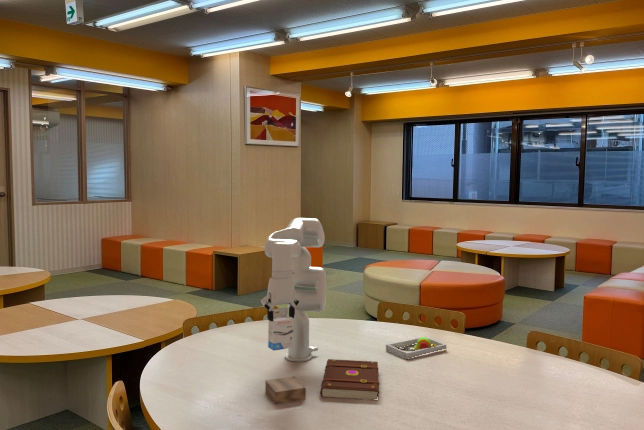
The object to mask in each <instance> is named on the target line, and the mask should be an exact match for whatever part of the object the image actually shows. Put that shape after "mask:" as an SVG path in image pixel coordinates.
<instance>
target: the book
mask: <svg viewBox="0 0 644 430" xmlns="http://www.w3.org/2000/svg"><path fill="white" fill-rule="evenodd" d="M378 364H379V363H378V361H371V360H369V361H368V360H353V359H351V360H349V359H348V360H347V359H334V358H333V359H332V358H331V359H330V358H329V359H327V361H326V365H325V367H324V373H323V378H322V379H323V380H322V381H321V384H320V385H321V387H320V391H319V392H320V393H319V394H320V397H321V398H328V397H330V399H331V398H332V399H345V398H353V399H352V400H363V399H377V392H378V393H379V392H380V382H379V365H378ZM356 398H357V399H356Z"/></svg>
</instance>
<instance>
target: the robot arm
mask: <svg viewBox="0 0 644 430" xmlns="http://www.w3.org/2000/svg"><path fill="white" fill-rule="evenodd" d="M325 237H326V236H325V231H324V228H323V225H322V223H321V221H320V220H319V219H318V218H314V217H313V218H310V217H308V218H307V217H295V218H293V219H291V220H290V221H289V223H288V224H287V226H286V228H283V229H280V230H278V231H274V232H273V233H271V234H269V236H268V237H267V240H266V241H265V244H264V255H266V256H267V257H268V258H272V259H271V264H272V266H271V277H269V280H268V286H267V294H266V295H265V296H264V297H263V298H262V299H260V302H261V304H262V306H263V307H264V308H265V309H266V311H267V314H266V318H267V320H268V322H269V321H271V322H272V321H273V311H272V310H273V309H275V306H278V305H287V308H288V316H290V317H292V318H293V347H292V348H287V349H288V352H286V353H285V354H284V358H285V359H286V360H287V361H291V362H297V363H298V362H300V363H301V362H308V361H310V360H311V359H312V358H313V354H312V353H313V352H318V351H319V347H318V346H314V347H313V346H310V318H309V316H308V314H307V313H306V312H310V313H311V312H314V313H315V312H316V313H317V312H318V313H319V312H323V311H324V310H325V306H326V297H327V296H326V295H327V294H326V291H327V272H326V270H325V268H323V267H320V266H312V256H311V255H312V254H311V253H310V251H309V250H308V249H307V248H321V247H323V246H324V243H325V241H326V239H325ZM295 287H299V288H300V287H301V288H312V289H315V290H312V289H311V290H309V289H307V290H306V289H296V288H295ZM267 303H268V304H267Z"/></svg>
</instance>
